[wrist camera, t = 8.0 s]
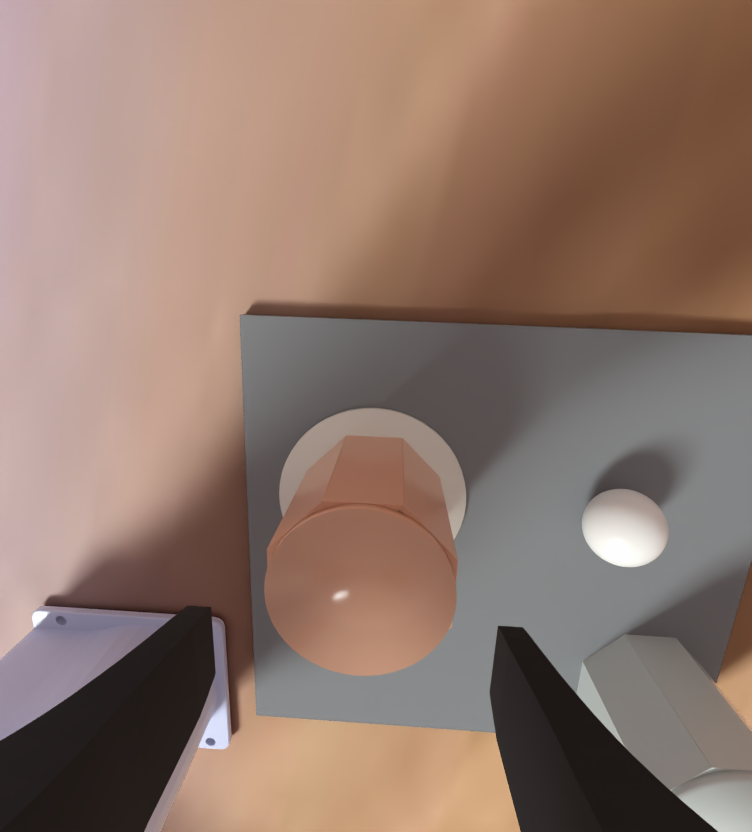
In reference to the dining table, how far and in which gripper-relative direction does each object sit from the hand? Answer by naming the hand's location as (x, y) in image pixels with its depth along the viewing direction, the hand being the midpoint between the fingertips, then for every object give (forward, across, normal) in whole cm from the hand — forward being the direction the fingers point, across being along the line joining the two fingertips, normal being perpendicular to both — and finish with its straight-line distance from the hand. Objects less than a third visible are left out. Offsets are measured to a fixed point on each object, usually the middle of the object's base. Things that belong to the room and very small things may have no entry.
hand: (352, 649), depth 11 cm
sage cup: (+9, -13, +9) cm, 18 cm away
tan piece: (+8, 0, 0) cm, 9 cm away
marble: (+7, -10, 0) cm, 12 cm away
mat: (+9, -6, +2) cm, 11 cm away
